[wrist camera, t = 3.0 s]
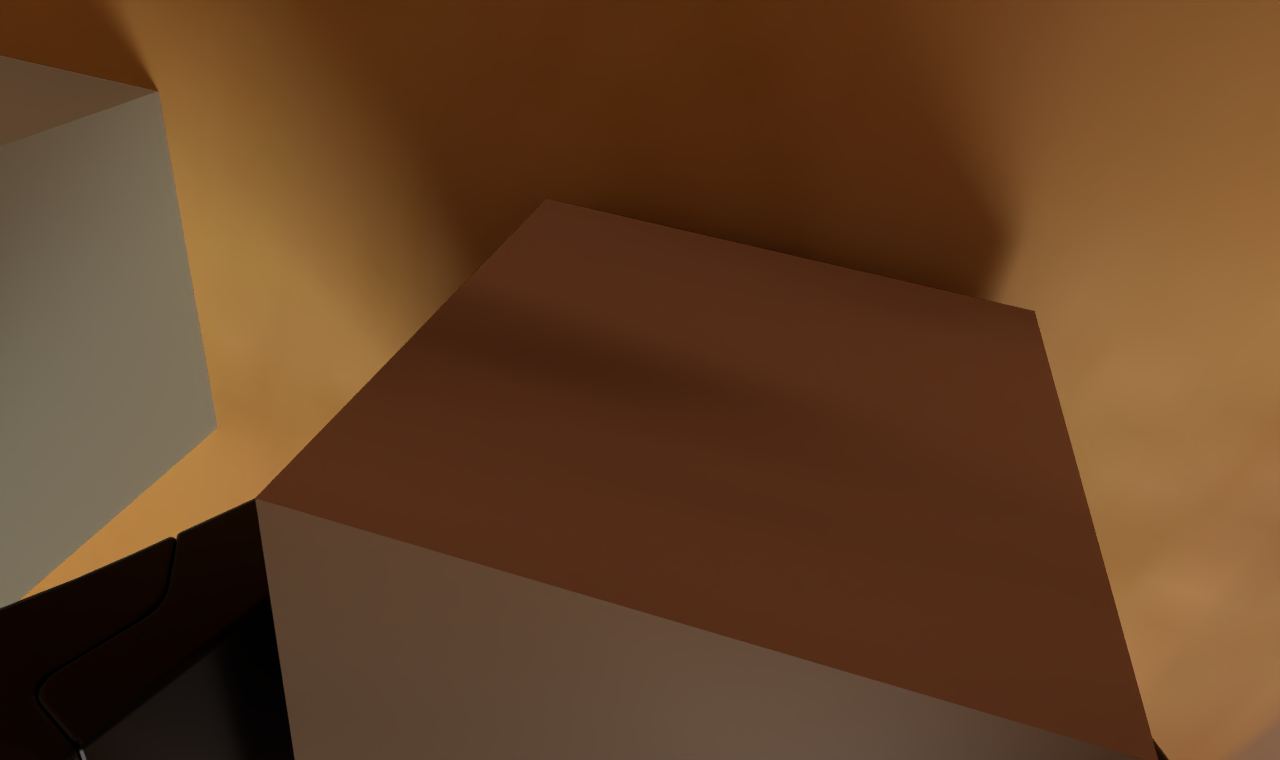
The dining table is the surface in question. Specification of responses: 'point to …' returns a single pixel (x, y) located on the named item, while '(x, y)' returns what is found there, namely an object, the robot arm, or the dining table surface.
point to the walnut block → (697, 523)
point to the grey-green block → (88, 314)
